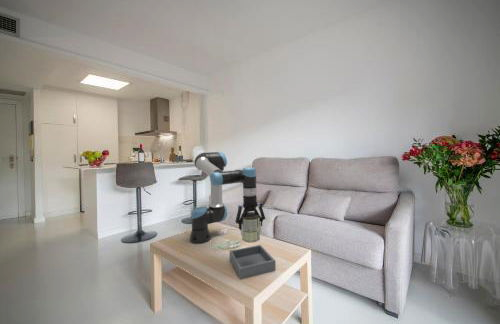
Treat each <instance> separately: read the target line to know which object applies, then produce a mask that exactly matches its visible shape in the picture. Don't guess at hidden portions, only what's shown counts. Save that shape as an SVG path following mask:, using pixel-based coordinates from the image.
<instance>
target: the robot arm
mask: <svg viewBox="0 0 500 324" xmlns="http://www.w3.org/2000/svg"><path fill="white" fill-rule="evenodd" d="M193 161H194V162H193V163H194V167H195V168H196V169H197V170H198V171H202V172H203V173H205V174H206V175H207V176H208V177H209V181H210V203H209V205H208V207H207V206H198V207H196V208H194V209H192V211H191V214H190V215H191V216H190V217H191V218H190V219H191V232H190V236H189V242H190V243H192V244H199V245H200V244H204V243H207V242H209V241H210V240H211V239H210V235H211V232H210V230H209V225H211V224H214V223H220V222H223V221H225V220H226V218H227V216H228V209H227V208H228V207H226V205H225V203H223V185H231V184H242V195H243V196H242V198H243V204H242V205H240V204H238V205H237V212H236V213H237V214H236V217H235V223H236V224H237V225H238V229H239V230H240V236H241V237H242V236H243V224H242V222H243V217H245V216H246V214H247V213H248V212H255V214H257V215H258V214H259V225H260V234H261V233H262V227H263V221H264V220H266V217H265V216H266V215H265V213H264V209H263V203H261V202H258V201H257V199H258V197H257V196H258V195H257V172H256V168H255V167H253V166H252V167H247V166H246V167H243V168H242V169H240V168H239V169H235V170H226V171H224V168H226V167H227V164H228V162H227V161H228V160H227V157H226V155H225V153H224V152H221V151H215V152H213V151H211V152H201V153H199V154H198V155H196V156H195V158H194V160H193ZM257 207H258V210H257ZM243 208H244V209H243ZM242 210H243V212H242ZM241 215H242V216H243V217H242V216H241Z"/></svg>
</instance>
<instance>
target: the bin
mask: <svg viewBox="0 0 500 324" xmlns="http://www.w3.org/2000/svg"><path fill="white" fill-rule="evenodd" d="M229 261H230V262H231V264H232V267H233V269H235V272H236V274H237V276H238V277H239V279H240V280H242V279H246V278H249V277H255V276H258V275H262V274H266V273H270V272H274V271H276V259H274V257H273V256H272V255H271V254H270V252H268V251H267V250H266V248H264V247H263V245H261V244H257V245H252V246H248V247H242V248H238V249H233V250H229Z"/></svg>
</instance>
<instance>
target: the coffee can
mask: <svg viewBox="0 0 500 324" xmlns="http://www.w3.org/2000/svg"><path fill="white" fill-rule="evenodd" d="M259 215H260V213H259V214H258V215H257V214H255V212H254V211H250V212H248V213H247V214H246V216H245V217H243V216H242V214H241V215H240V217H241V216H242V217H243V222H242V224H243V236H242V235H241V237H242V238H241V239H242V241H243V242H245V243H249V244H250V243H257V242H260V240H261V233H260V225H259Z"/></svg>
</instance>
